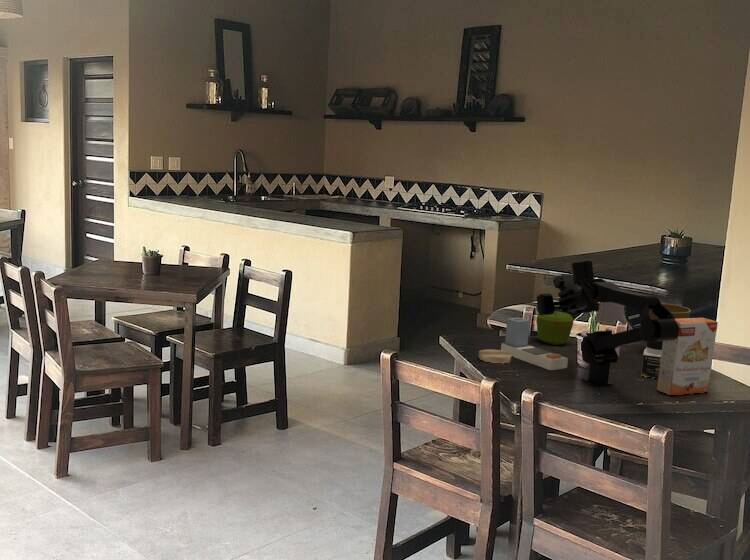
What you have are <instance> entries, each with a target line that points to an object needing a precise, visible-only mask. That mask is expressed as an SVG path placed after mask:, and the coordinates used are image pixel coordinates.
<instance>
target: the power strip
mask: <svg viewBox="0 0 750 560" xmlns="http://www.w3.org/2000/svg"><path fill="white" fill-rule="evenodd" d="M500 350H501V351H505V352H508V353H510V354H511V357H512V356H513V357H512V358H515V359H518V360H521V361H523V362H527V363H528V364H532V365H534V366H537V367H541V368H543V369H546V370H548V371H554V370H562V369H567V368H568V360H569V358H568V357H565V356H562V354H559V353H555V352H554V353H553V352H550V351H549V350H544V349H542V348H539V347H535V346H532V345H530V344H527V345H525V346H517V347H515V346H513V345H510V344H507V343H505V341H503V342H501V346H500Z"/></svg>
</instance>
